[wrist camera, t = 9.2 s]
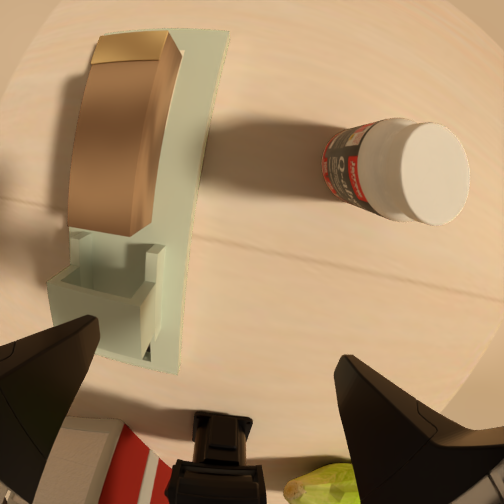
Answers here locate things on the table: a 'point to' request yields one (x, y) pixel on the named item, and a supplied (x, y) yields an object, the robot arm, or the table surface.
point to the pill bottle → (399, 170)
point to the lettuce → (324, 486)
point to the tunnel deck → (150, 230)
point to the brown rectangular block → (122, 132)
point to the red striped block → (100, 467)
